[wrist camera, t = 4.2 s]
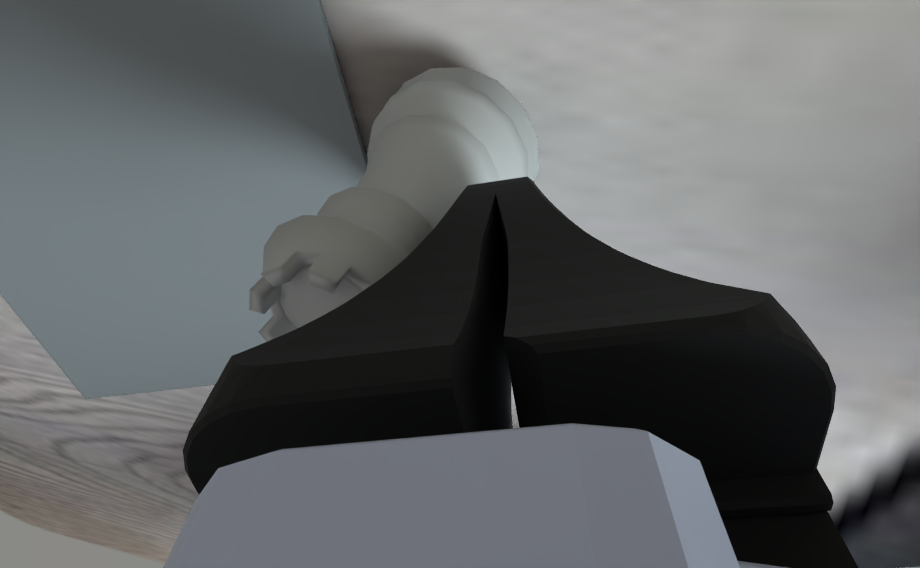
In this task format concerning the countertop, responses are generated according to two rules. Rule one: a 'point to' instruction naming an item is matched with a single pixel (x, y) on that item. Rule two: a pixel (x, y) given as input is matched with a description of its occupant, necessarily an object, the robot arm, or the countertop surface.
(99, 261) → the mat
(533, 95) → the countertop surface
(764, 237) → the countertop surface
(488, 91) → the rook chess piece
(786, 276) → the countertop surface
